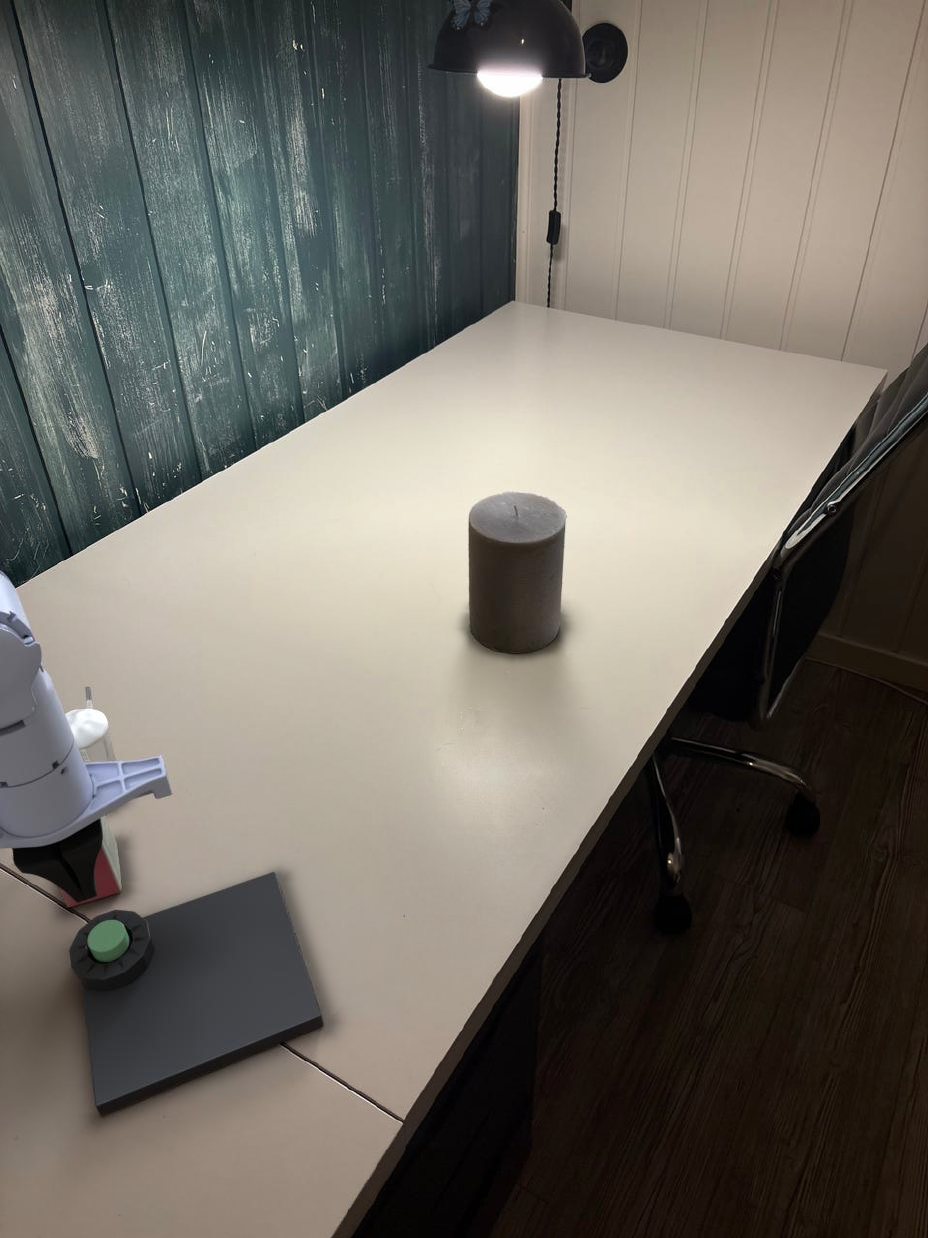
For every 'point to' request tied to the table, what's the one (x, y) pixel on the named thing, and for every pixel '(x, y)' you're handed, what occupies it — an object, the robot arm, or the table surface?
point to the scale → (192, 990)
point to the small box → (103, 869)
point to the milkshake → (91, 733)
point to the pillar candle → (515, 571)
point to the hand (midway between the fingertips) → (85, 888)
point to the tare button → (108, 941)
